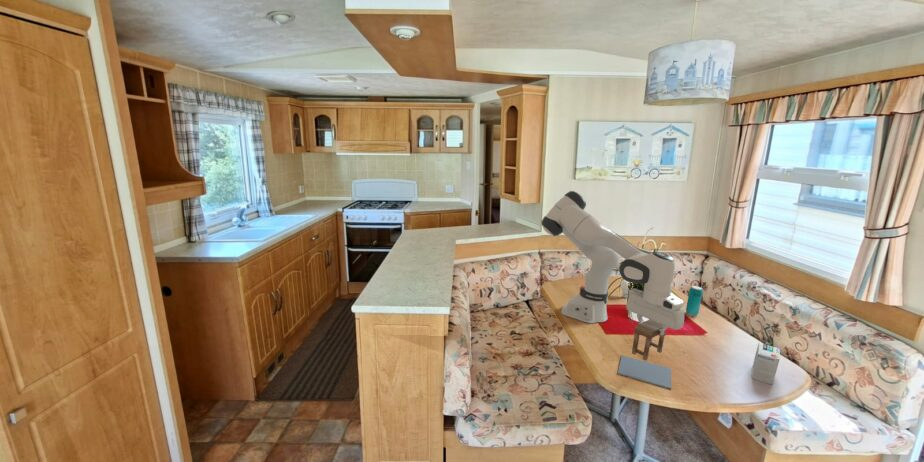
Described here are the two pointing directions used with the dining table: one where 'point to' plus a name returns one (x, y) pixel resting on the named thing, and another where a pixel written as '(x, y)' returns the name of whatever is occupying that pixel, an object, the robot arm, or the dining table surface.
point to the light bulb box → (765, 363)
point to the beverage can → (694, 300)
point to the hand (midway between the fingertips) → (650, 330)
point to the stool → (648, 337)
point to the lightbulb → (624, 288)
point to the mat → (645, 371)
